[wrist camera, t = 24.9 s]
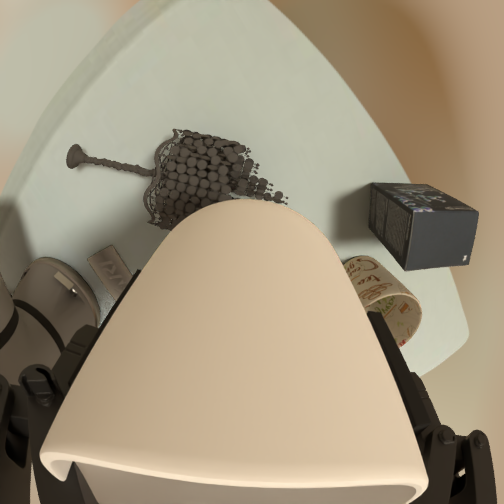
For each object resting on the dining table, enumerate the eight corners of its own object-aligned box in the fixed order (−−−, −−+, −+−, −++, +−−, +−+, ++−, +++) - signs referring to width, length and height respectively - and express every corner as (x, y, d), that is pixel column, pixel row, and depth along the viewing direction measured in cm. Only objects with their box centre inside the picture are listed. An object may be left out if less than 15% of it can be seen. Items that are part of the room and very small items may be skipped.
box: (427, 182, 29) (481, 211, 19) (422, 227, 31) (468, 267, 22) (369, 180, 29) (414, 210, 20) (366, 228, 32) (404, 274, 22)
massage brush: (61, 218, 25) (101, 160, 30) (263, 277, 27) (275, 205, 33) (35, 151, 17) (92, 95, 23) (298, 216, 20) (304, 141, 25)
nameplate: (201, 368, 42) (175, 374, 43) (201, 367, 43) (176, 372, 44) (111, 245, 33) (86, 259, 34) (112, 244, 33) (87, 258, 34)
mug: (385, 238, 32) (423, 282, 23) (392, 314, 37) (418, 363, 28) (321, 258, 34) (341, 310, 25) (339, 332, 39) (355, 386, 30)
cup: (250, 150, 10) (191, 380, 1) (399, 326, 14) (469, 488, 5) (126, 276, 13) (18, 460, 4) (285, 395, 17) (292, 545, 8)
